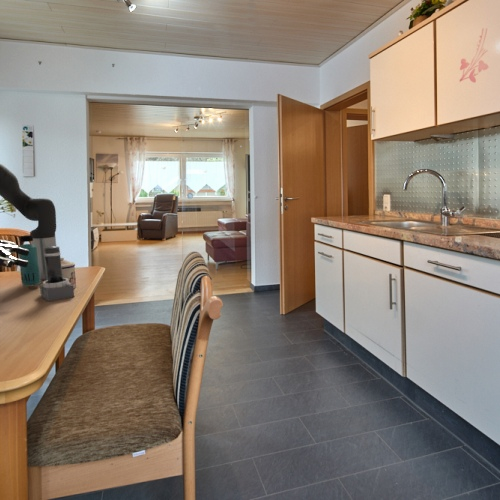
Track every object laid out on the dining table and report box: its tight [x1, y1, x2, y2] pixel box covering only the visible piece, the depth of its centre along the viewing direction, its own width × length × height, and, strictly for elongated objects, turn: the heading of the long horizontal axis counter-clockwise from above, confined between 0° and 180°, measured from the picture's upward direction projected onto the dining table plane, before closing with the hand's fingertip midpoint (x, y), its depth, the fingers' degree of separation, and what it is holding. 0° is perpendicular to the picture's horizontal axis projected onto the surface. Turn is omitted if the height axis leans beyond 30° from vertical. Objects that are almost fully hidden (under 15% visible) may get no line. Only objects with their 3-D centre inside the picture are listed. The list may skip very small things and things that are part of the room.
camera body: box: [39, 278, 75, 302], centre depth 134 cm, size 10×8×6 cm
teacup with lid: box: [60, 257, 77, 289], centre depth 146 cm, size 12×9×12 cm
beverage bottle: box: [18, 234, 42, 287], centre depth 146 cm, size 6×7×20 cm
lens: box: [44, 245, 63, 283], centre depth 132 cm, size 5×5×13 cm
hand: (28, 258), depth 135 cm, fingers open, 8 cm apart
